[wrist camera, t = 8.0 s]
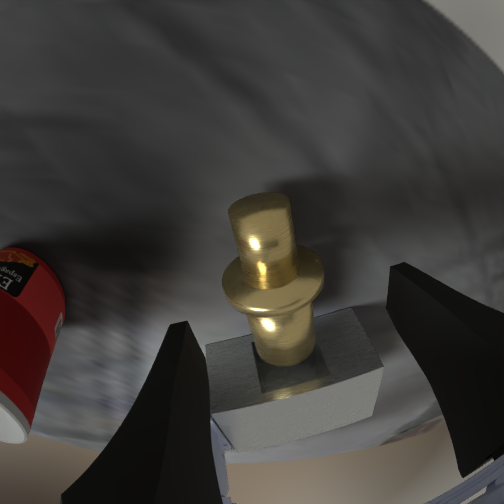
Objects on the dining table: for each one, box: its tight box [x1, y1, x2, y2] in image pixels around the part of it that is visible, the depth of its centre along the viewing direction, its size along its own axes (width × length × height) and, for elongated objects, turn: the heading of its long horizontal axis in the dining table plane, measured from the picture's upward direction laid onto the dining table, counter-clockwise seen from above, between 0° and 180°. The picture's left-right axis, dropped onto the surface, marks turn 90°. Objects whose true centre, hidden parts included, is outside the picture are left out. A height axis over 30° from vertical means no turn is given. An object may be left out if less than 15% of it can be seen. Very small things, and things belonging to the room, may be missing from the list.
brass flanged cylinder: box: [222, 192, 324, 366], centre depth 18 cm, size 10×6×6 cm, turn 11°
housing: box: [205, 307, 384, 453], centre depth 23 cm, size 8×12×6 cm, turn 101°
